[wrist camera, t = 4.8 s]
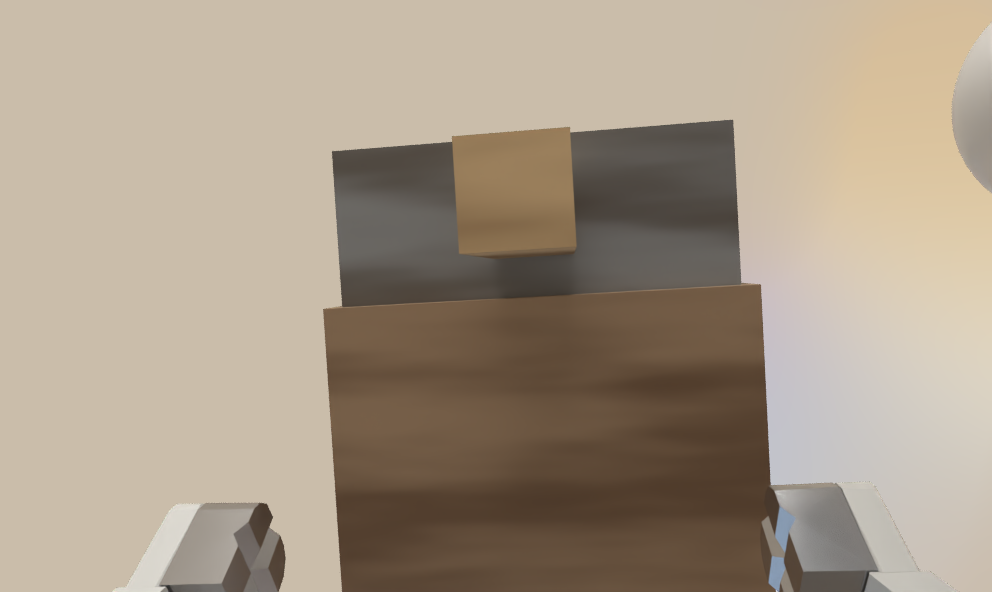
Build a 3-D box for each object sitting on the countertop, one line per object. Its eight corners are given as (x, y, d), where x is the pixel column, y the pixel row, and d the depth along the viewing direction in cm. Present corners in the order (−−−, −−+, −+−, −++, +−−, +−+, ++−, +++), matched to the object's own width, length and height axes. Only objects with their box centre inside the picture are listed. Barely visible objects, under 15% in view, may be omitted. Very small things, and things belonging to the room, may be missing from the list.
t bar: (367, 303, 31) (358, 164, 31) (721, 283, 30) (713, 137, 30) (239, 324, 19) (223, 97, 19) (826, 292, 18) (815, 44, 17)
